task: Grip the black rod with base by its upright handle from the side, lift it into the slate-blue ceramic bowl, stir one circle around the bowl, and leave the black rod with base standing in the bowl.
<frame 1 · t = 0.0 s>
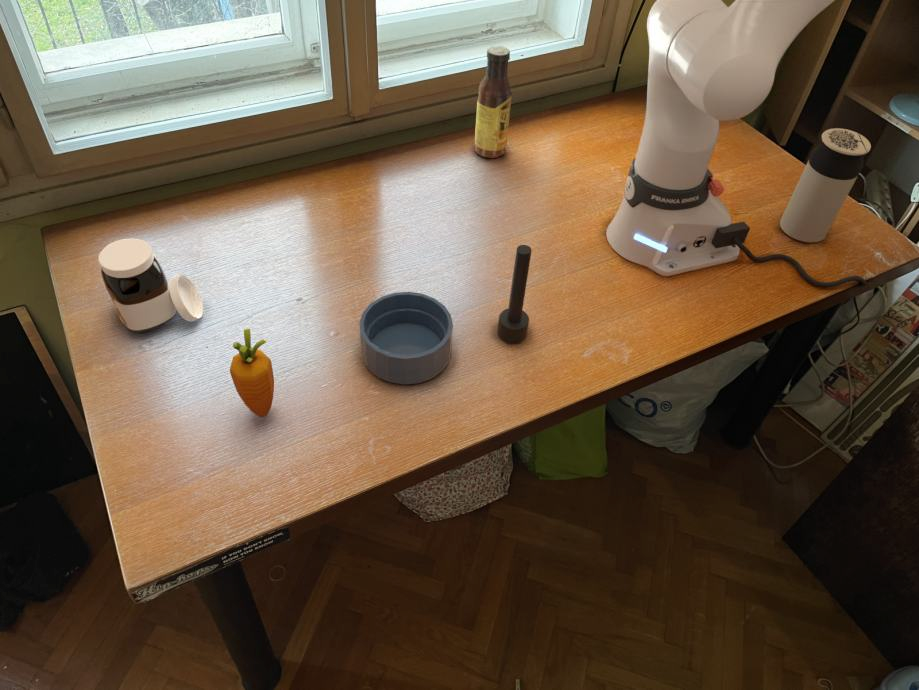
spread jar: (163, 314, 107), on the table
black rod with base: (511, 333, 107), on the table
sauce bottle: (489, 151, 141), on the table
bowl: (406, 352, 104), on the table
carrot: (263, 416, 95), on the table
travel mug: (801, 230, 128), on the table
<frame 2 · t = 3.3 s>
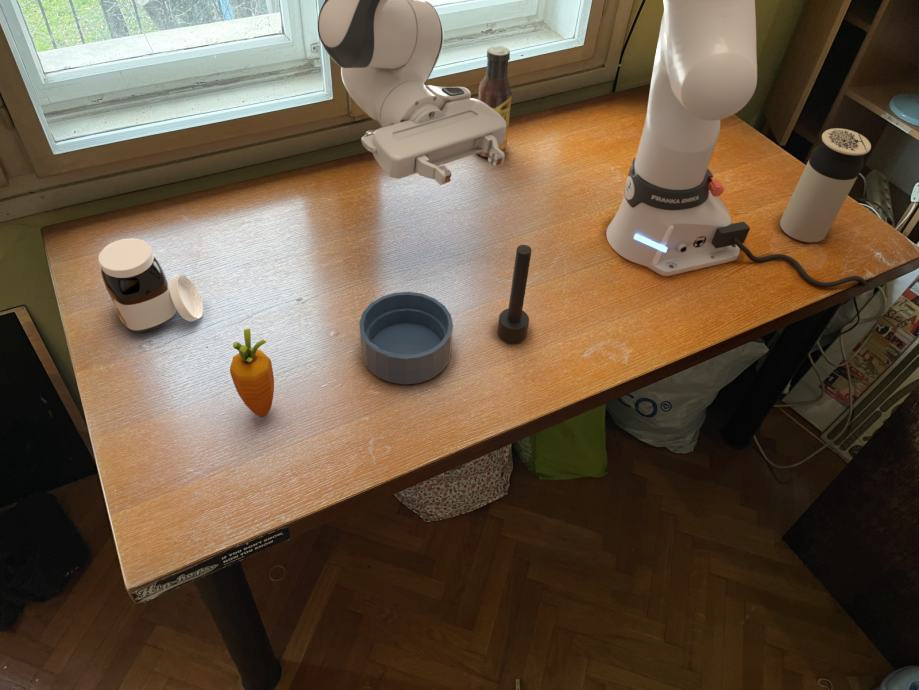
hand: (474, 170, 98), 21 cm above the table, tool horizontal, fingers open, 8 cm apart
nothing on the table moved.
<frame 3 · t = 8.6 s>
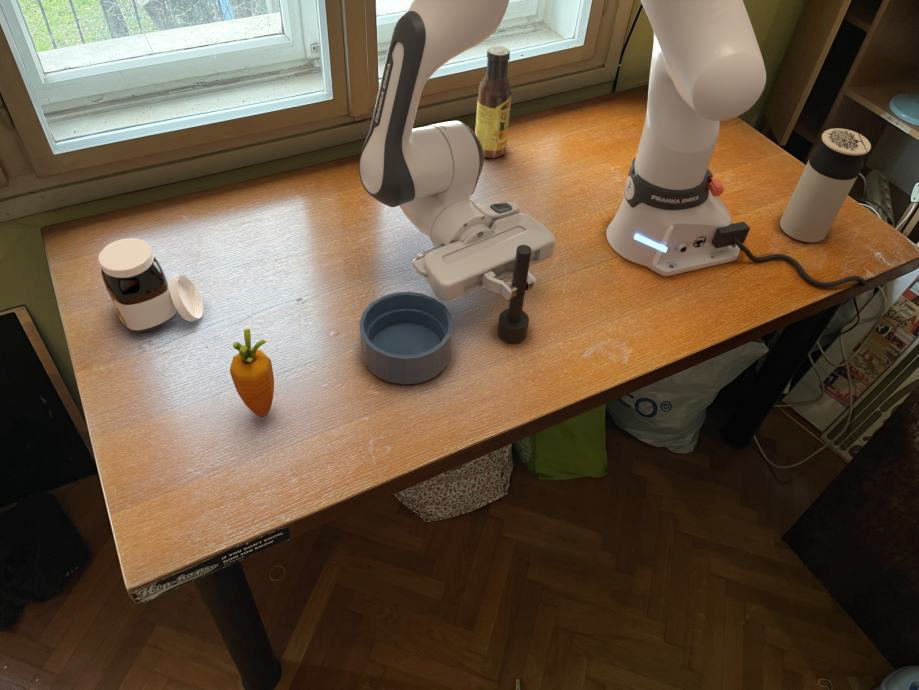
hand: (522, 290, 100), 10 cm above the table, tool horizontal, fingers closed on black rod with base, 2 cm apart
black rod with base: (511, 333, 107), on the table, touching gripper
everything else where it was.
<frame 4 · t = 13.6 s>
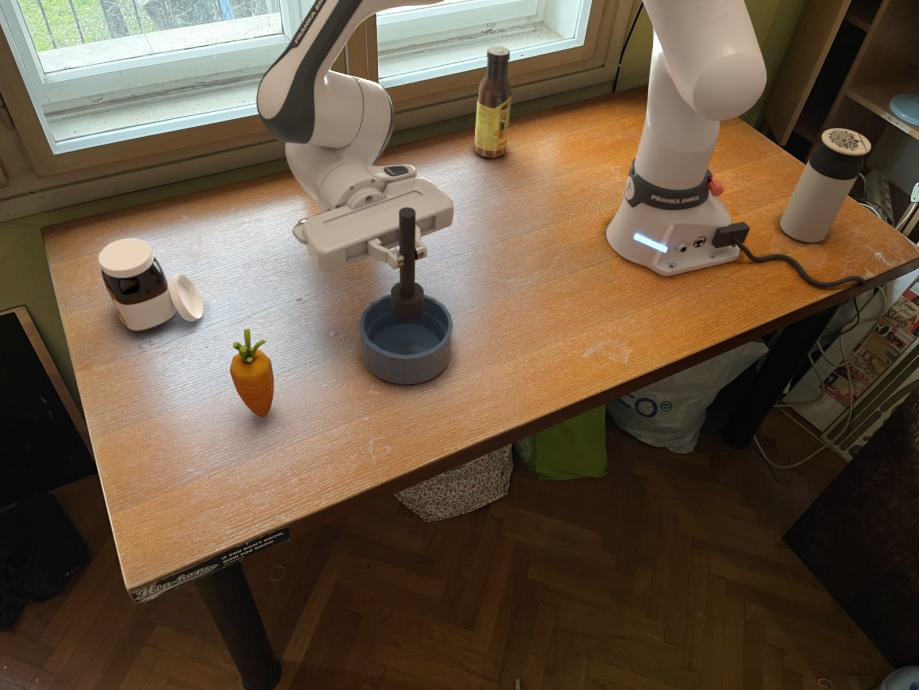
hand: (411, 259, 90), 18 cm above the table, tool horizontal, fingers closed on black rod with base
black rod with base: (407, 309, 97), point 9 cm above the table, touching gripper
everything else where it was.
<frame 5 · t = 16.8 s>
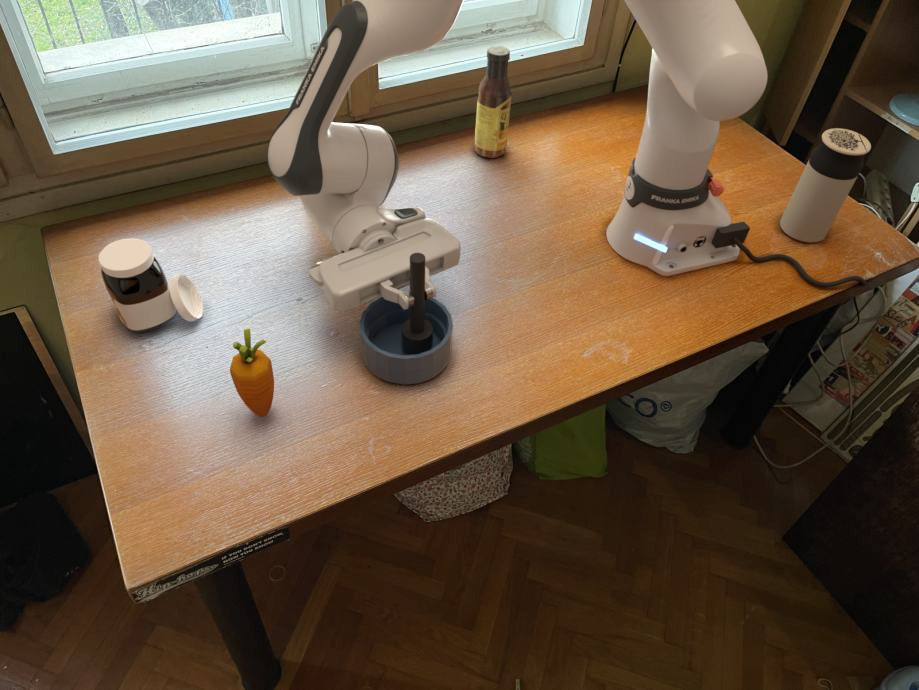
hand: (421, 299, 96), 11 cm above the table, tool horizontal, fingers closed on black rod with base, 2 cm apart
black rod with base: (417, 344, 103), point 1 cm above the table, touching gripper
everything else where it was.
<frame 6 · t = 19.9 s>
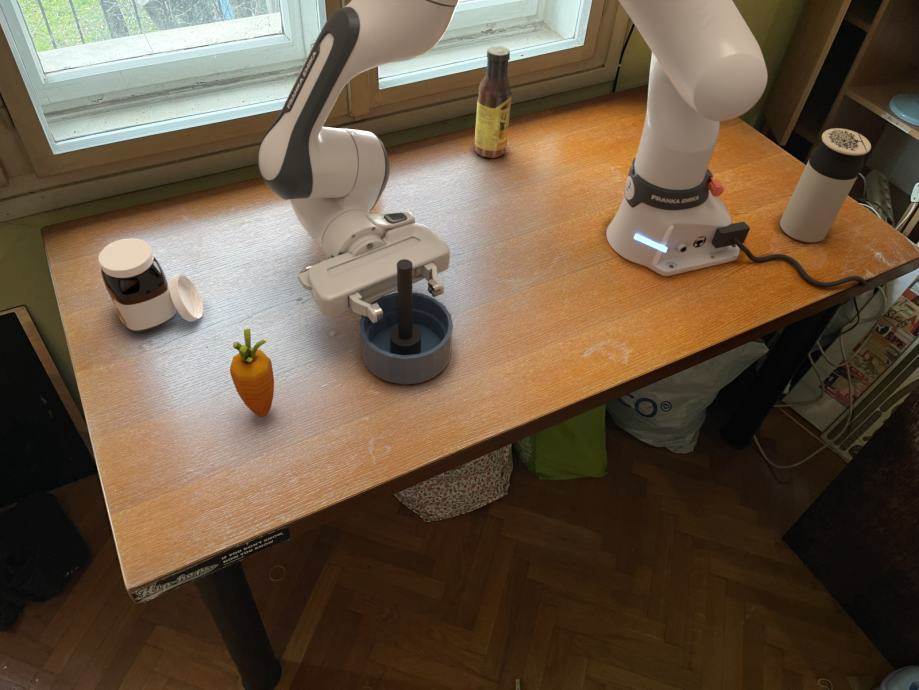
hand: (409, 304, 96), 10 cm above the table, tool horizontal, fingers open, 8 cm apart
black rod with base: (405, 349, 103), point 1 cm above the table, touching bowl
everything else where it was.
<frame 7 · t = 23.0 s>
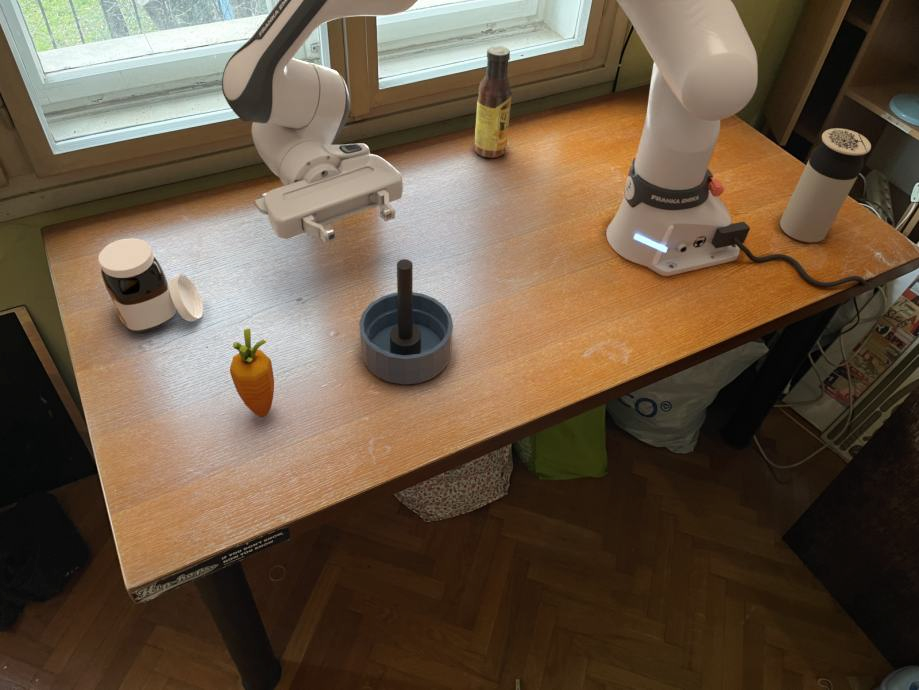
hand: (361, 226, 100), 15 cm above the table, tool horizontal, fingers open, 8 cm apart
nothing on the table moved.
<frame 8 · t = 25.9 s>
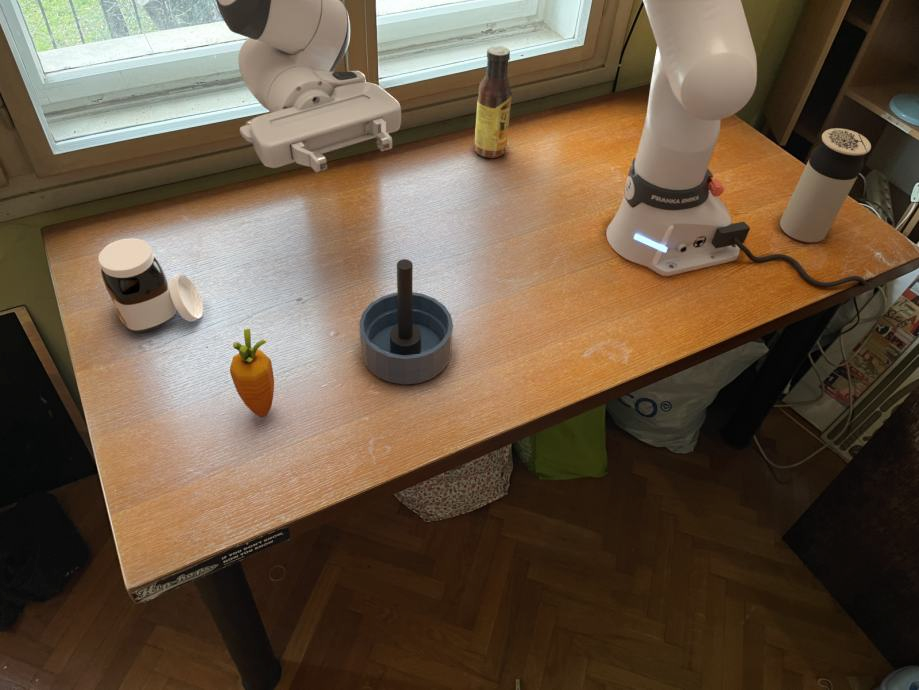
hand: (355, 155, 91), 26 cm above the table, tool horizontal, fingers open, 8 cm apart
nothing on the table moved.
at the end: black rod with base 0.1 cm off-centre in the bowl, point 0.6 cm above the bowl's base; black rod with base tilted 0°; the gripper is holding nothing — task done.
